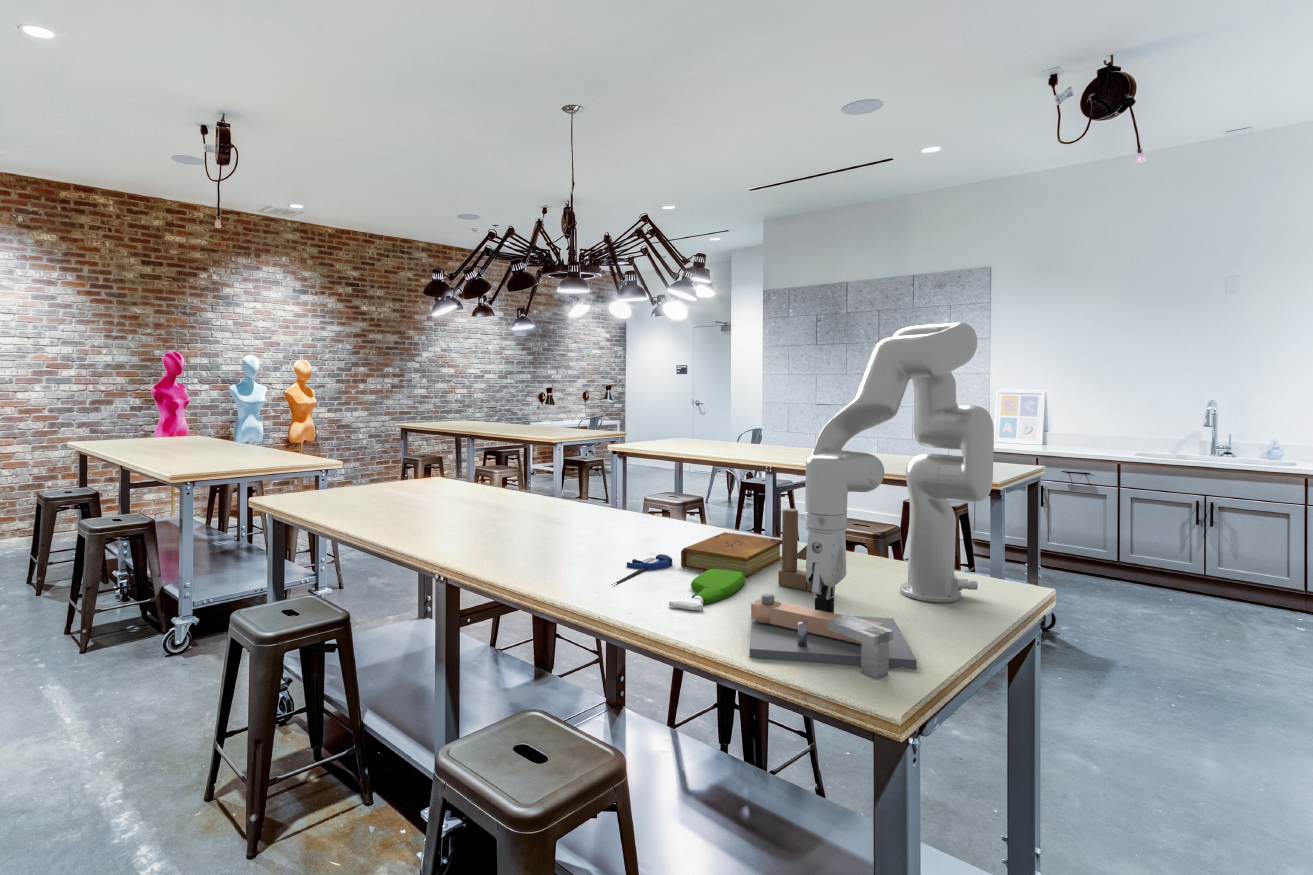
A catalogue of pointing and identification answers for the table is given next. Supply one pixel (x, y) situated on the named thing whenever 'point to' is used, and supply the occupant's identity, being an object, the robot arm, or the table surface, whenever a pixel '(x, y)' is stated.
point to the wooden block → (792, 554)
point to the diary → (732, 553)
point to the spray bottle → (711, 588)
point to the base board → (823, 645)
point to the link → (796, 617)
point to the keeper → (865, 632)
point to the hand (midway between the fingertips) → (824, 618)
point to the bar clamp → (648, 565)
